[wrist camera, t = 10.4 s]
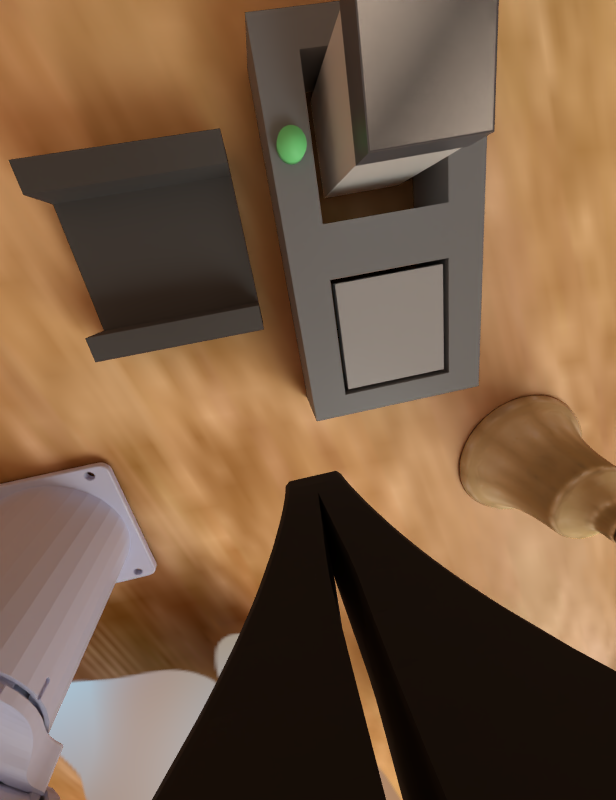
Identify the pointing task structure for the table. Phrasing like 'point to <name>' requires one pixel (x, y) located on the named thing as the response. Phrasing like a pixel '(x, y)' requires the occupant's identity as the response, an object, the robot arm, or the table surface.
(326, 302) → the port panel
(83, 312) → the table surface
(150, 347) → the dark grey bracket
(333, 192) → the plug
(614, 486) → the hand bell
